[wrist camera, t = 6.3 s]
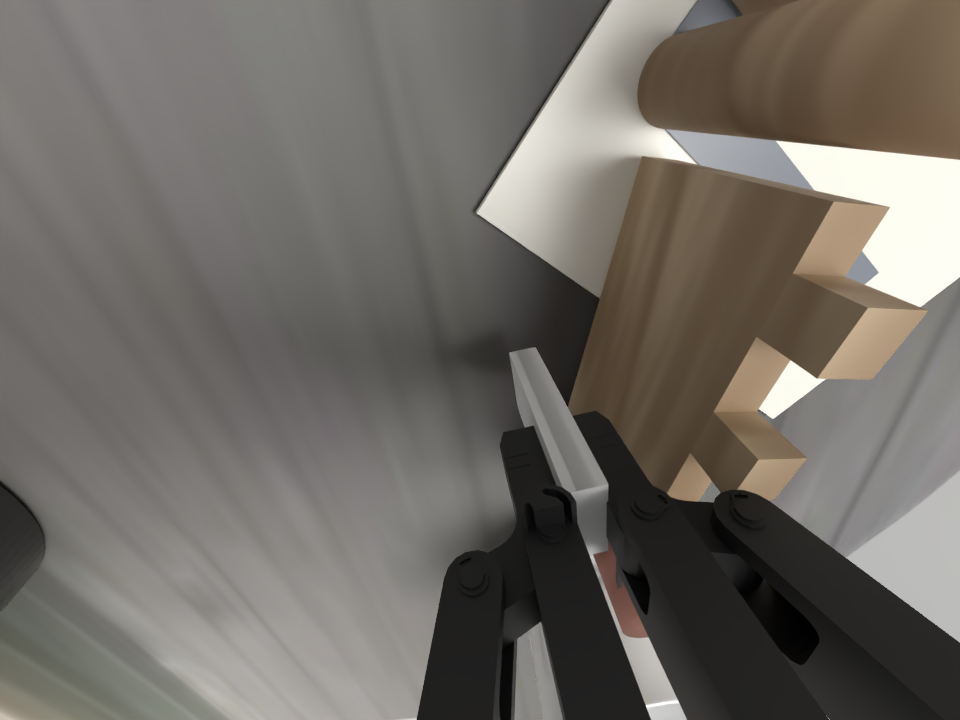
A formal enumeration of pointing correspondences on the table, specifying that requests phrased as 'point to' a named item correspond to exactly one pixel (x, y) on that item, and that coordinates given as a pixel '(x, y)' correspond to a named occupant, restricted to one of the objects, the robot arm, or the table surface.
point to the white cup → (642, 660)
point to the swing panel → (726, 327)
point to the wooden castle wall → (816, 75)
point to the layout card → (628, 136)
